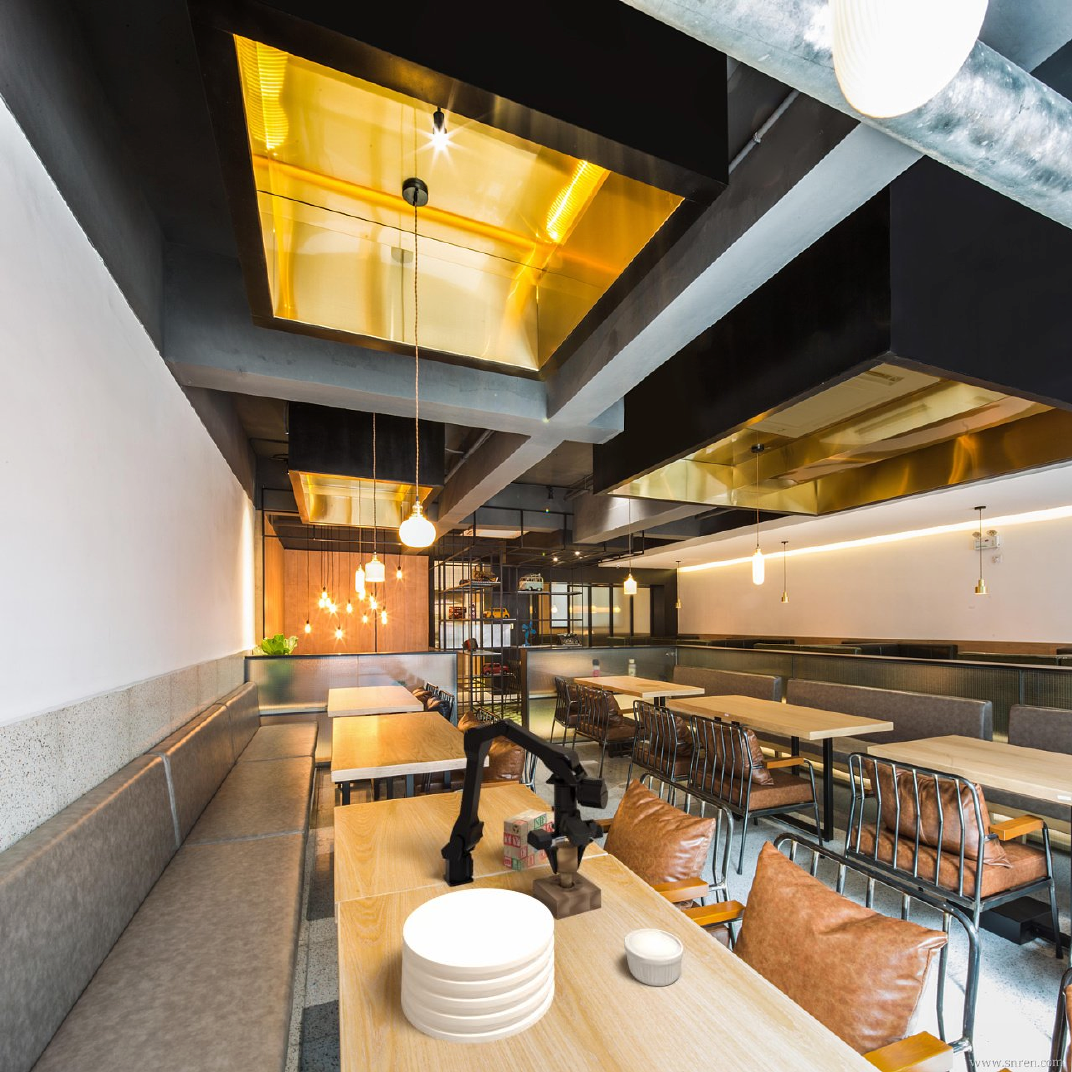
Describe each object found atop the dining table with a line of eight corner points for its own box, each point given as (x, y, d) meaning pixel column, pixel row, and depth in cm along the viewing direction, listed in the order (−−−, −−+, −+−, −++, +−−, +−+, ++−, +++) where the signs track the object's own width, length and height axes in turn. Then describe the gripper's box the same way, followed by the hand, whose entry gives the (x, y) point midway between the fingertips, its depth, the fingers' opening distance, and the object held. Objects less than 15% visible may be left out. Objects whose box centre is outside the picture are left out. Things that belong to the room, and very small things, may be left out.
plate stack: (478, 932, 126) (479, 876, 127) (584, 982, 108) (583, 916, 110) (369, 997, 104) (371, 928, 106) (478, 1072, 87) (479, 988, 89)
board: (557, 919, 131) (556, 900, 131) (533, 897, 141) (533, 879, 142) (601, 907, 136) (600, 889, 137) (575, 887, 147) (574, 870, 147)
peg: (561, 892, 136) (561, 851, 137) (550, 882, 141) (550, 843, 142) (582, 887, 138) (581, 847, 140) (570, 877, 143) (570, 839, 145)
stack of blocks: (548, 843, 176) (548, 800, 178) (565, 847, 173) (564, 804, 175) (503, 866, 160) (503, 819, 161) (520, 872, 156) (520, 824, 158)
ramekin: (696, 976, 110) (695, 946, 111) (655, 998, 103) (655, 966, 104) (653, 950, 119) (652, 922, 120) (613, 968, 112) (612, 939, 113)
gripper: (547, 819, 131) (547, 893, 129) (615, 807, 139) (616, 876, 137) (526, 805, 141) (526, 874, 138) (590, 795, 149) (591, 859, 147)
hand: (566, 871), depth 140 cm, fingers closed on peg, 6 cm apart
